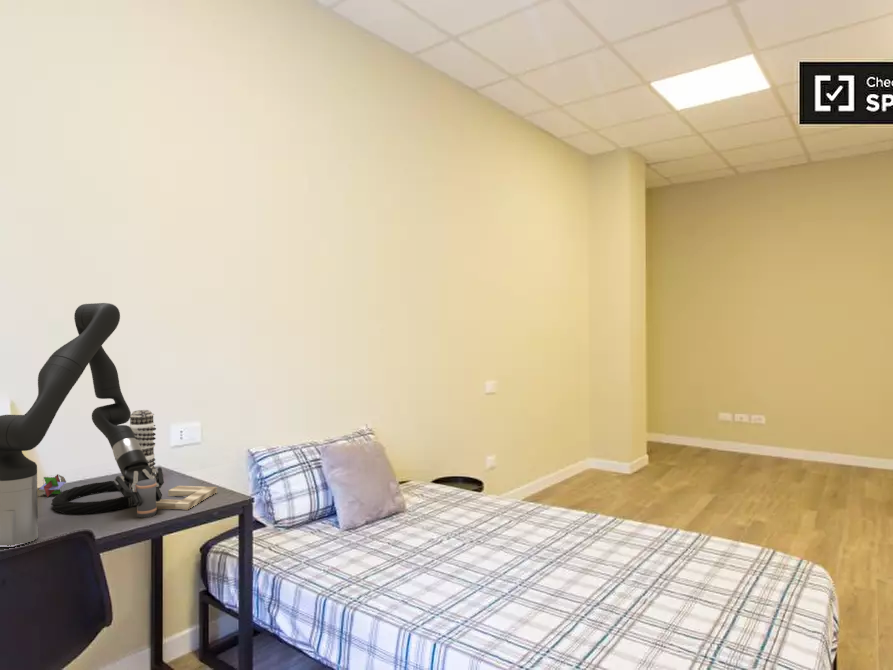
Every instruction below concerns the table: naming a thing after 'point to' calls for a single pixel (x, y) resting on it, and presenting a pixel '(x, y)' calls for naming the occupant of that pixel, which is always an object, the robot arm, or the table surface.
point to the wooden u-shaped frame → (194, 497)
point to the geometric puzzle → (53, 485)
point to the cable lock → (67, 507)
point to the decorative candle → (144, 433)
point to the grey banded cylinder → (147, 498)
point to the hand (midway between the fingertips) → (149, 501)
